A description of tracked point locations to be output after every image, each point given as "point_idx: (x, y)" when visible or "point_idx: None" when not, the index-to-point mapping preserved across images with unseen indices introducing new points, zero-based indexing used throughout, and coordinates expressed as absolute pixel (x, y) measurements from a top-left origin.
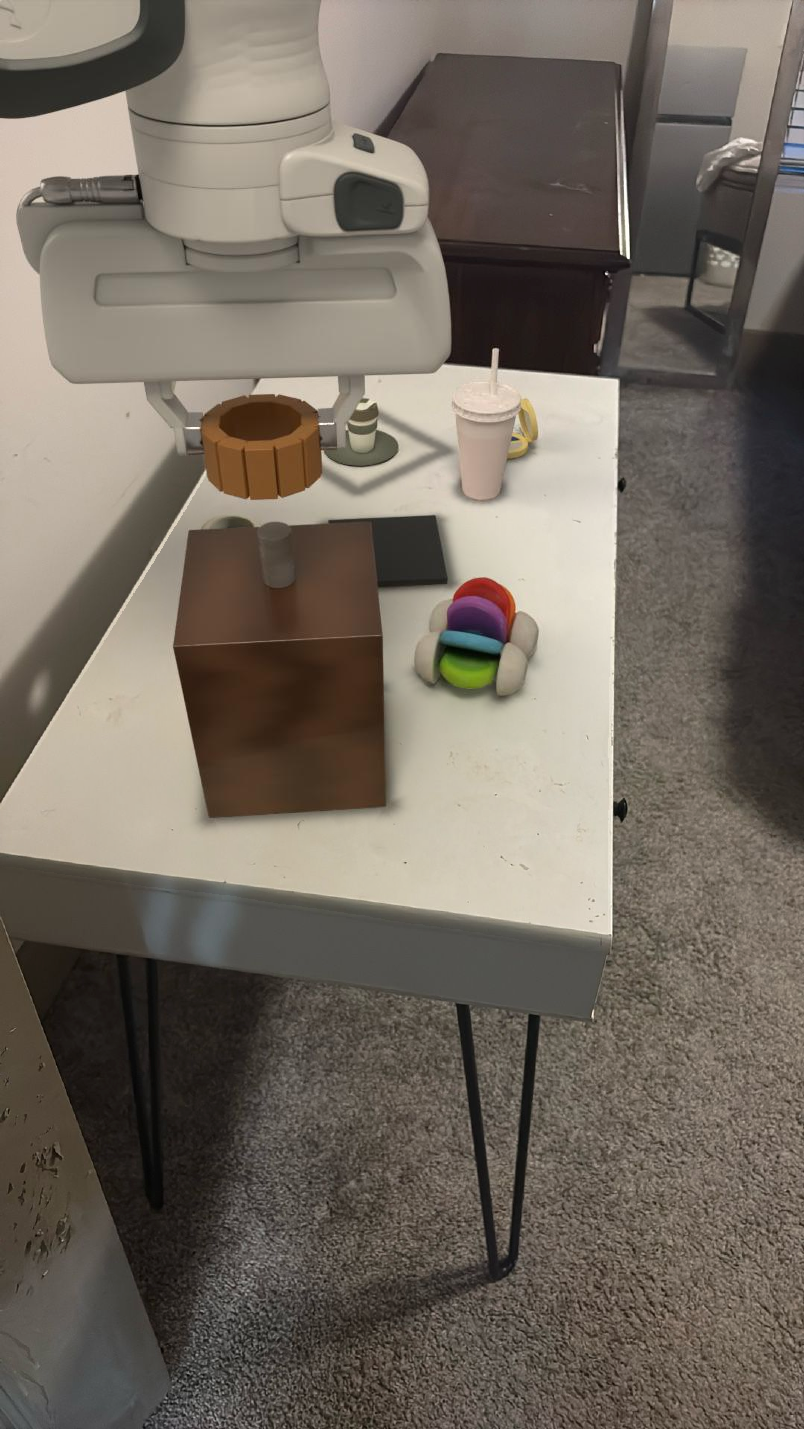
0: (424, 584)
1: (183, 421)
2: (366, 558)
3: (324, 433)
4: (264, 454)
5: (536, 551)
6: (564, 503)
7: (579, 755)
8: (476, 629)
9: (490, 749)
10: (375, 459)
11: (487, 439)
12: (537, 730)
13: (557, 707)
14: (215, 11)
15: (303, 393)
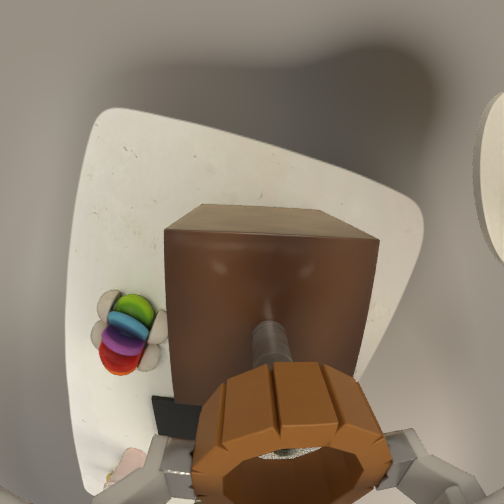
0: (166, 397)
1: (415, 468)
2: (177, 354)
3: (183, 459)
4: (299, 417)
5: (102, 406)
6: (91, 434)
7: (81, 236)
8: (123, 334)
9: (130, 247)
10: None
11: (123, 475)
12: (101, 260)
13: (89, 279)
14: None
15: None
